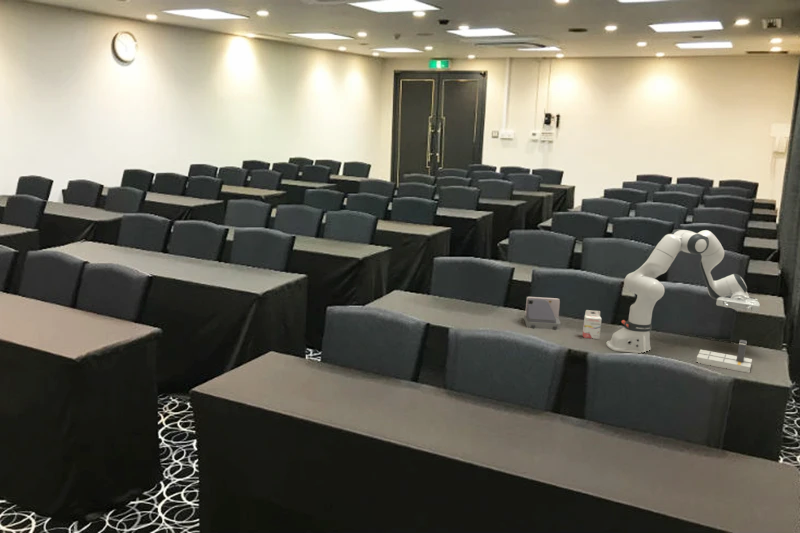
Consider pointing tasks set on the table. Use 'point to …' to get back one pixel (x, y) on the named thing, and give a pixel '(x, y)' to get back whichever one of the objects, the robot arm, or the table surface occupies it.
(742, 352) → the fader knob
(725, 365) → the fader console
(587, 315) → the ink cartridge box
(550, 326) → the tablet on stand
